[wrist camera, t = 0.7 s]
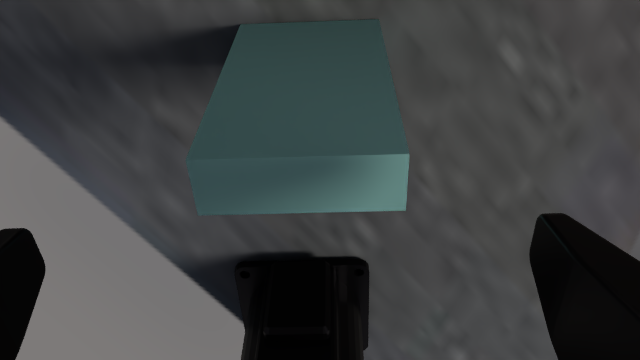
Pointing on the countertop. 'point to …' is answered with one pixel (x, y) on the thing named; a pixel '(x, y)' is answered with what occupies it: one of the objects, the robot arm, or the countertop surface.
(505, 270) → the countertop surface
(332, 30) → the end domino
